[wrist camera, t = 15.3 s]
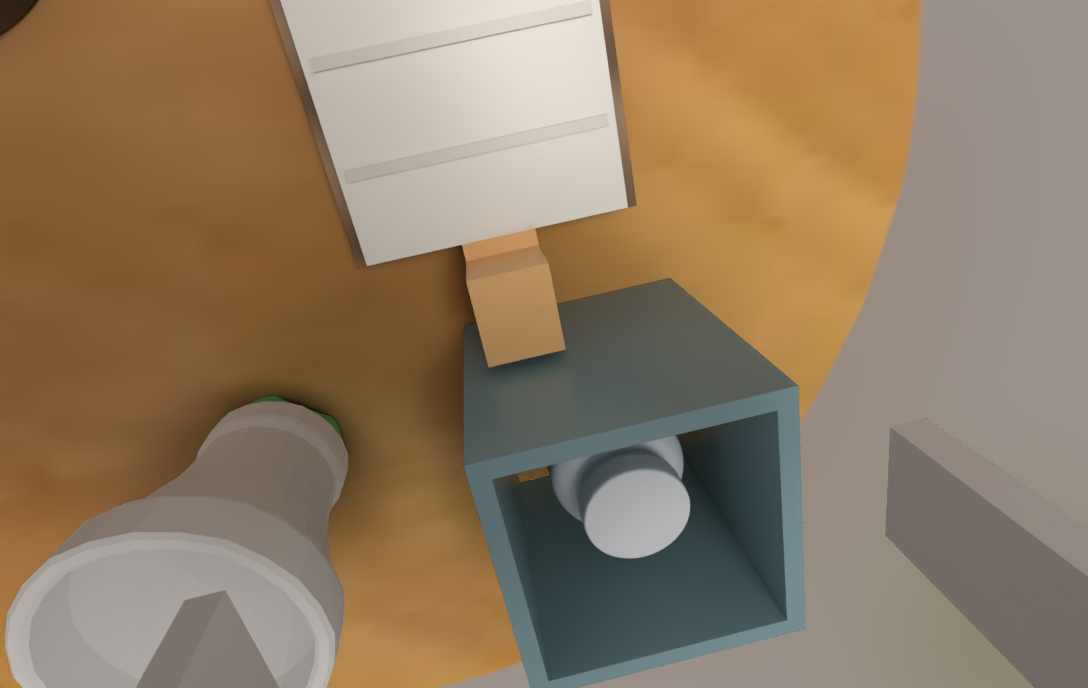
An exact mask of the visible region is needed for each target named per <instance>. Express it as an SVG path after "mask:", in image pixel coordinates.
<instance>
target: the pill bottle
mask: <svg viewBox="0 0 1088 688" xmlns="http://www.w3.org/2000/svg"><path fill="white" fill-rule="evenodd" d="M683 466H684V464H683V453H682V448H681V445H680V442H679V440H678V438H677V436H676V435H674V436H670V437H665V438H661V439H657V440H653V441H649V442H645V443H641V444H636V445H632V446H628V447H624V448H620V449H616V450H612V451H607V452H603V453H599V454H595V455H591V456H587V457H583V458H578V459H574V460H570V461H566V462H562V463H558V464H554V465H549V466H548V470H549V475H550V479H551V483H552V486H553V490H554V492H555V494H556V496H557V498H558V500H559V502H560V503H561V505H562V506H563V507H564V508H565V509H566V510H567V511H568V512H569V513H570V514H571V515H572V516H574V517H575V518H576V519H578V520H580V521H582V522H583V525H584V528H585V531H586V534H587V535H588V537H589V539H590V540H591V542H592V543H593V544H594V545H595V546H596V547H597V548H598V549H599V550H601V551H603V552H604V553H606V554H609V555H611V556H614V557H619V558H639V557H644V556H648V555H651V554H654V553H656V552H658V551H660V550H662V549H664V548H665V547H667V546H668V545H669V544H671V543H672V542H673V541H674V540H675V539H676V538H677V537H678V536H679V534H680V533H681V532H682V530H683V529H684V527H685V525H686V523H687V521H688V518H689V514H690V499H689V495H688V492H687V490H686V488H685V486H684V484H683V482H682V481H681V478H682V474H683Z"/></svg>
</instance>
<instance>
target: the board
mask: <svg viewBox="0 0 1088 688" xmlns="http://www.w3.org/2000/svg"><path fill="white" fill-rule="evenodd" d="M269 2H270V5H271V8H272V11H273V14H274V17H275V20H276V23H277V26H278V29H279V32H280V35H281V38H282V41H283V44H284V47H285V50H286V53H287V56H288V59H289V62H290V65H291V68H292V71H293V74H294V77H295V80H296V83H297V86H298V89H299V92H300V95H301V98H302V101H303V104H304V107H305V110H306V113H307V116H308V119H309V122H310V125H311V128H312V131H313V134H314V137H315V140H316V143H317V146H318V149H319V152H320V155H321V158H322V161H323V164H324V167H325V170H326V173H327V176H328V179H329V182H330V185H331V188H332V191H333V194H334V197H335V200H336V203H337V206H338V209H339V212H340V215H341V218H342V221H343V224H344V227H345V230H346V233H347V236H348V239H349V242H350V245H351V248H352V251H353V254H354V257H355V260H356V263H357V266H358V268H360V267H365V266H367V265H366V262H365V259H364V255H363V252H362V249H361V246H360V243H359V240H358V237H357V234H356V231H355V228H354V225H353V222H352V219H351V216H350V213H349V209H348V206H347V203H346V200H345V197H344V194H343V191H342V188H341V185H340V182H339V179H338V176H337V173H336V170H335V167H334V164H333V160H332V157H331V154H330V151H329V148H328V145H327V142H326V139H325V136H324V133H323V130H322V127H321V124H320V121H319V118H318V115H317V111H316V108H315V105H314V102H313V99H312V96H311V93H310V90H309V87H308V84H307V81H306V78H305V75H304V72H303V69H302V66H301V62H300V59H299V56H298V53H297V50H296V47H295V44H294V41H293V38H292V35H291V32H290V29H289V26H288V23H287V20H286V16H285V13H284V10H283V7H282V4H281V1H280V0H269ZM599 2H600V10H601V17H602V24H603V31H604V38H605V46H606V53H607V60H608V67H609V74H610V82H611V89H612V96H613V103H614V110H615V117H616V125H617V132H618V139H619V146H620V153H621V161H622V168H623V175H624V182H625V189H626V197H627V204H628V207H632V206H636V198H635V191H634V183H633V176H632V168H631V161H630V153H629V146H628V138H627V131H626V123H625V116H624V108H623V101H622V93H621V86H620V78H619V71H618V63H617V56H616V48H615V41H614V33H613V26H612V18H611V11H610V3H609V0H599Z"/></svg>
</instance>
